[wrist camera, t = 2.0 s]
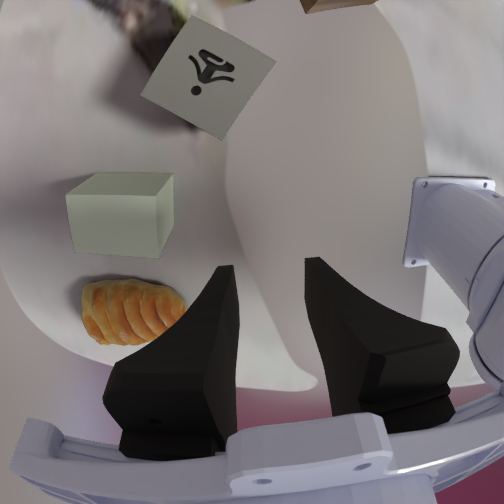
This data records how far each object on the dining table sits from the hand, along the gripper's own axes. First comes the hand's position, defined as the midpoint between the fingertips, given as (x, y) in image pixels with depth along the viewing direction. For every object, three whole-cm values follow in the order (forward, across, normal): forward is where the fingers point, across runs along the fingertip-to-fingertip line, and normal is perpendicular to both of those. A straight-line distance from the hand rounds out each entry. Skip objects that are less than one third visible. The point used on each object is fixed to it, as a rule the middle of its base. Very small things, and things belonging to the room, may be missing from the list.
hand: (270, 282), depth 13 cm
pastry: (+11, +12, +8) cm, 18 cm away
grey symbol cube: (+11, +2, -8) cm, 14 cm away
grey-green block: (+10, +9, -1) cm, 14 cm away
